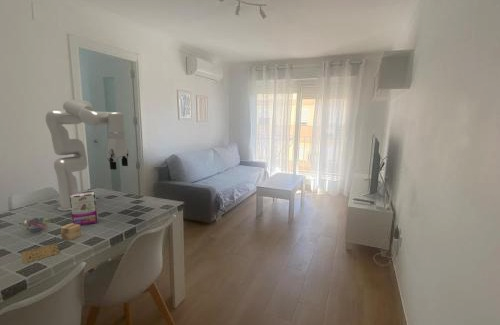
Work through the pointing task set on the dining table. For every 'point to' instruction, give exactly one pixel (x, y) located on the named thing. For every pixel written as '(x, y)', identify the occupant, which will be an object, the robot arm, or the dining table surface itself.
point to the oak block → (71, 231)
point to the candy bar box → (84, 208)
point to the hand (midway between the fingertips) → (119, 167)
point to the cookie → (40, 253)
